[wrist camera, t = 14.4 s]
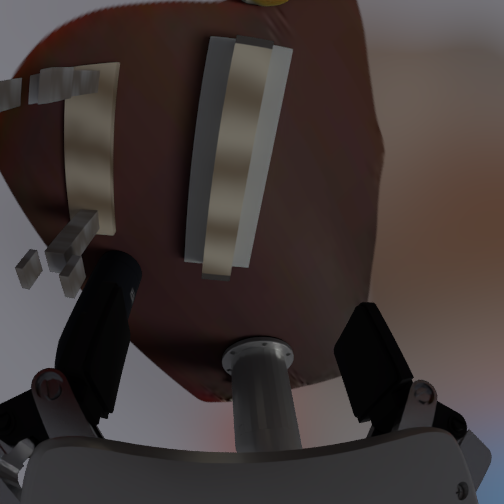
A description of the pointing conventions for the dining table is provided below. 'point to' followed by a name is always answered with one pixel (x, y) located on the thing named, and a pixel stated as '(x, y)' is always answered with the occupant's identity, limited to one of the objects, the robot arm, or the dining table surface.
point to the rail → (234, 152)
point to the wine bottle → (107, 269)
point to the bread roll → (265, 2)
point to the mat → (207, 146)
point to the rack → (76, 162)
